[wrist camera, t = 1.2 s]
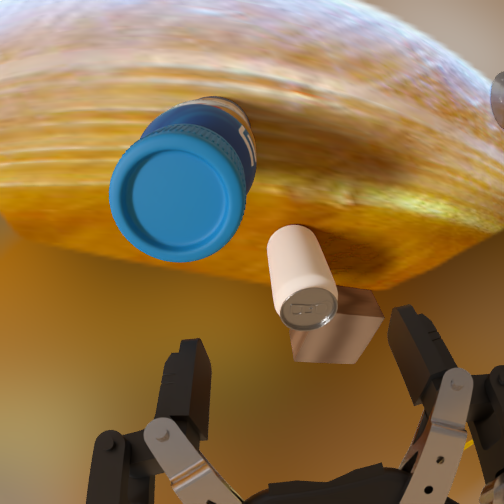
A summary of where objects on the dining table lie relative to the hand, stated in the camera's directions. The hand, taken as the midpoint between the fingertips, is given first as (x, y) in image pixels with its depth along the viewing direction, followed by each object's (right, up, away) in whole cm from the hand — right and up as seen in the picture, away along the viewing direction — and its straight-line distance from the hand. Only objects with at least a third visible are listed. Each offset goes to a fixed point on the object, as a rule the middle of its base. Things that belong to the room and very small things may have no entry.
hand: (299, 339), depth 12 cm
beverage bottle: (-6, +16, +19) cm, 25 cm away
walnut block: (+10, -6, +33) cm, 34 cm away
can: (+3, +4, +26) cm, 27 cm away
